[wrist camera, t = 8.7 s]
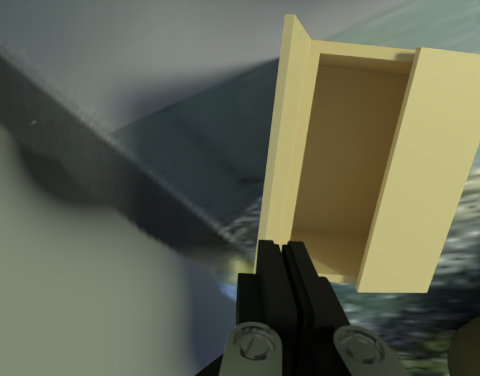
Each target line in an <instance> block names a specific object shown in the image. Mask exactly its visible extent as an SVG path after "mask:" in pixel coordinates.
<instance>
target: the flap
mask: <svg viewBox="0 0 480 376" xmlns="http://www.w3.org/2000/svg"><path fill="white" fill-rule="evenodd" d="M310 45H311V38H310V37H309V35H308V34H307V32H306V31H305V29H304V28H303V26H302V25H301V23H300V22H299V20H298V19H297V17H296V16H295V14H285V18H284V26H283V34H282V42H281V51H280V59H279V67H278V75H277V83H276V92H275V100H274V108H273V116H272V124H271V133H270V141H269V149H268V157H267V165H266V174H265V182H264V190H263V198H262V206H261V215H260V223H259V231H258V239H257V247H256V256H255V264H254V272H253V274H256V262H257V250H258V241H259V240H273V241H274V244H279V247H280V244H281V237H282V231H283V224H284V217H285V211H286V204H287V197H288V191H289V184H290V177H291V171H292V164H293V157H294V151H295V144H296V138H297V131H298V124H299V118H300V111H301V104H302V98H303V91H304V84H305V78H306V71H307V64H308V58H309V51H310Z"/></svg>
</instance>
